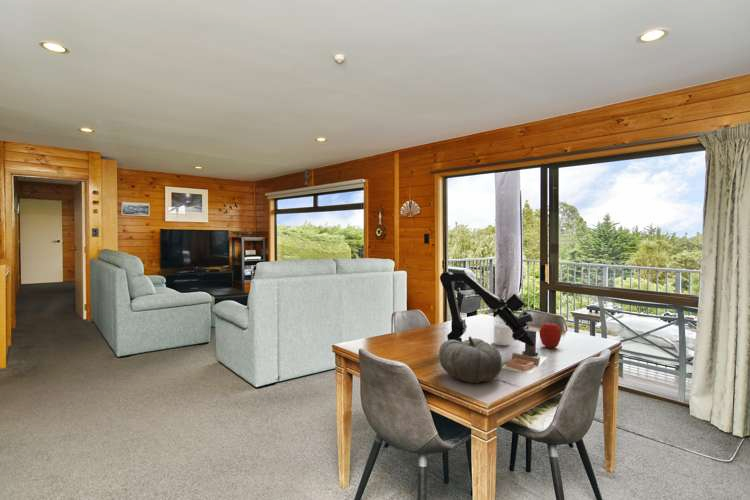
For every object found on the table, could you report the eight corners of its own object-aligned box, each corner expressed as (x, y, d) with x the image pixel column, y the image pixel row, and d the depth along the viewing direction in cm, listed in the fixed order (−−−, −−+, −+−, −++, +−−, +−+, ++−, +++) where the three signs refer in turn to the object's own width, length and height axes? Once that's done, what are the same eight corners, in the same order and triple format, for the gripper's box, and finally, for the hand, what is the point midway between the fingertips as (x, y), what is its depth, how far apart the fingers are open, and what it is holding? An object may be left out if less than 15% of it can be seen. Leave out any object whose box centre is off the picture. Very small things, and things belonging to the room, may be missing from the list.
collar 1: (506, 366, 168) (506, 361, 168) (516, 362, 173) (516, 358, 173) (524, 371, 162) (524, 366, 162) (533, 367, 167) (533, 362, 167)
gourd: (422, 369, 157) (431, 327, 158) (457, 366, 175) (465, 328, 175) (476, 394, 139) (486, 346, 140) (509, 388, 157) (517, 345, 157)
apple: (556, 345, 206) (557, 319, 206) (564, 350, 196) (564, 323, 196) (536, 344, 207) (537, 318, 207) (542, 349, 197) (543, 322, 197)
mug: (504, 349, 197) (505, 329, 196) (488, 346, 202) (489, 326, 201) (512, 344, 206) (513, 325, 206) (497, 342, 211) (497, 323, 211)
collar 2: (520, 359, 178) (520, 355, 178) (521, 354, 185) (521, 350, 185) (539, 361, 174) (539, 357, 174) (539, 357, 182) (540, 352, 182)
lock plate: (530, 376, 159) (530, 366, 159) (501, 370, 166) (501, 360, 166) (547, 359, 181) (547, 351, 181) (521, 354, 188) (521, 346, 188)
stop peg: (524, 358, 179) (525, 330, 178) (525, 356, 183) (526, 328, 182) (535, 360, 177) (535, 331, 176) (535, 357, 181) (536, 329, 180)
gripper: (520, 310, 172) (547, 338, 168) (523, 304, 189) (548, 329, 185) (501, 326, 176) (527, 353, 171) (506, 318, 193) (529, 343, 188)
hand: (533, 344), depth 179 cm, fingers open, 6 cm apart
